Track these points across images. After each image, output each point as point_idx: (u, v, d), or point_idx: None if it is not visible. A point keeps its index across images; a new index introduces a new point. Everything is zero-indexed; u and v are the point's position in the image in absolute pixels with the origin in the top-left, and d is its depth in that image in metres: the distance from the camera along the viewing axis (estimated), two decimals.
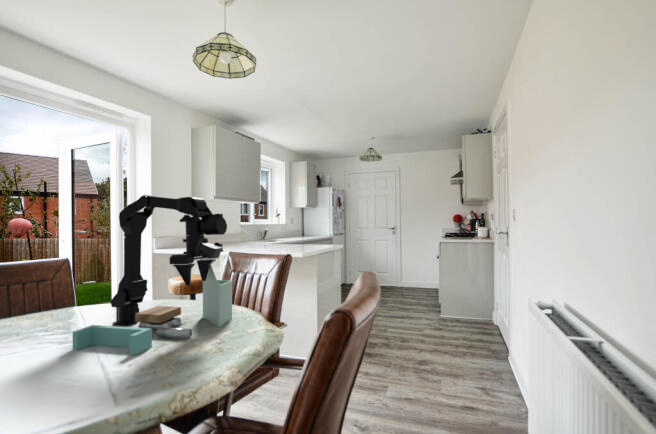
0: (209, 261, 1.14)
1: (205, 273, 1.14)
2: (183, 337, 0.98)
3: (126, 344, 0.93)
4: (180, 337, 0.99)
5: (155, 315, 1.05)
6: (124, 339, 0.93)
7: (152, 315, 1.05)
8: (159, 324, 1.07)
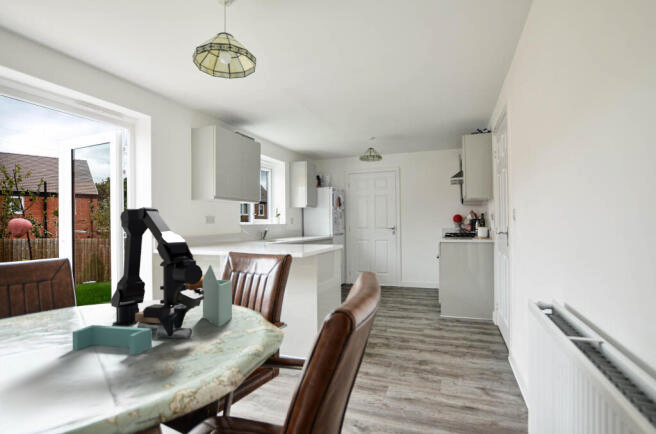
0: (184, 310, 1.02)
1: (179, 323, 1.02)
2: (183, 336, 0.98)
3: (126, 344, 0.93)
4: (180, 336, 0.99)
5: None
6: (124, 339, 0.93)
7: None
8: (157, 326, 1.06)
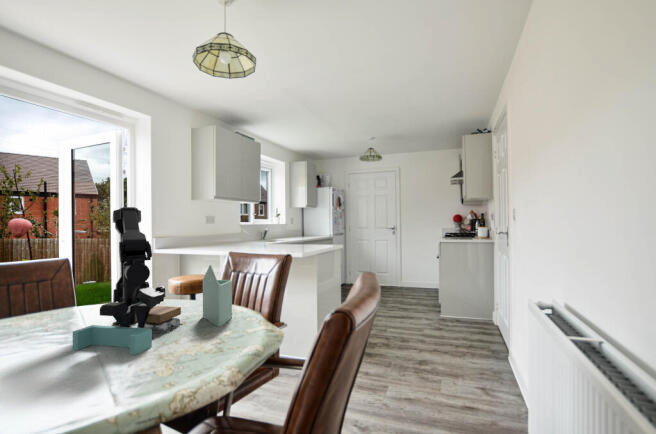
0: (147, 307, 1.03)
1: (143, 321, 1.02)
2: None
3: (126, 344, 0.93)
4: None
5: (155, 315, 1.05)
6: (124, 339, 0.93)
7: (152, 315, 1.05)
8: (157, 326, 1.06)
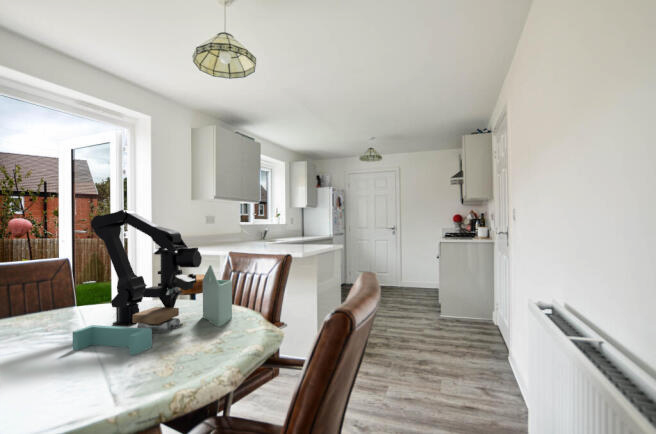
0: (176, 293, 1.16)
1: None
2: None
3: (126, 344, 0.93)
4: None
5: (152, 316, 1.03)
6: (124, 339, 0.93)
7: (149, 316, 1.04)
8: (157, 326, 1.06)
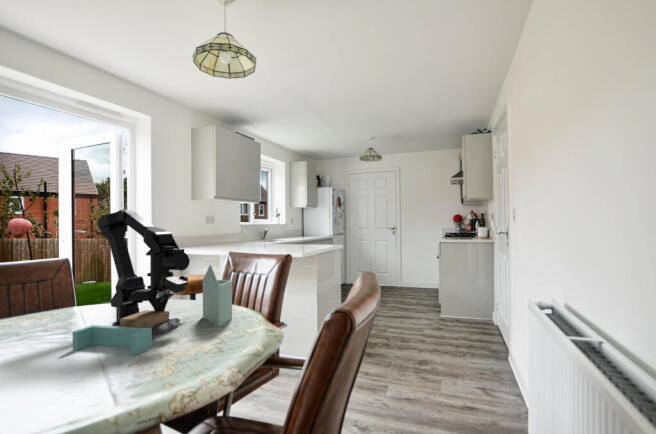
0: None
1: None
2: None
3: (126, 344, 0.93)
4: None
5: (141, 320, 0.99)
6: (124, 339, 0.93)
7: (138, 320, 0.99)
8: (157, 326, 1.06)
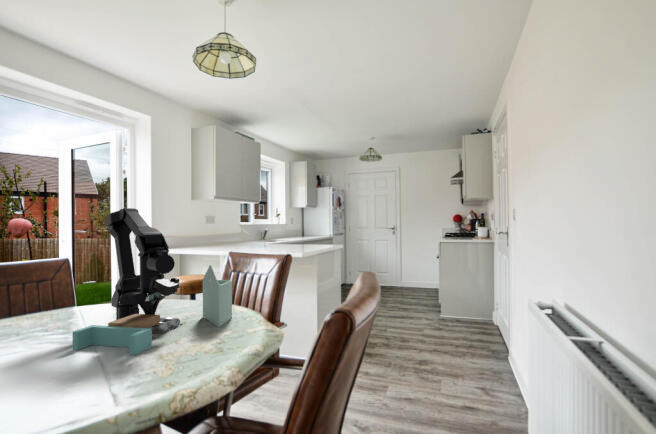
0: (157, 299, 1.07)
1: None
2: None
3: (126, 344, 0.93)
4: None
5: (130, 324, 0.95)
6: (124, 339, 0.93)
7: (126, 324, 0.95)
8: (157, 326, 1.06)
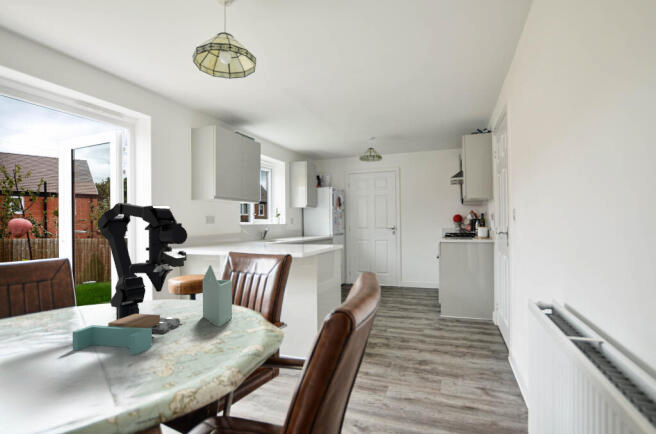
0: (165, 271, 1.11)
1: None
2: None
3: (126, 344, 0.93)
4: None
5: (130, 324, 0.95)
6: (124, 339, 0.93)
7: (126, 324, 0.95)
8: (157, 326, 1.06)
